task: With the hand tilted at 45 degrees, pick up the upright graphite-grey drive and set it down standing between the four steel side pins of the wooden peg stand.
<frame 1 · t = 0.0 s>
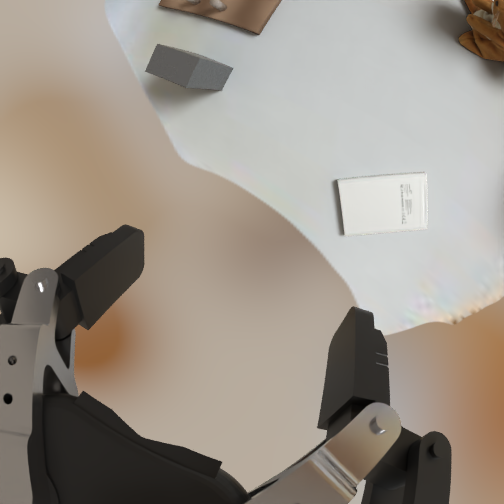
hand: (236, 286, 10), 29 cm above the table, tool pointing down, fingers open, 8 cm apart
grey drive: (209, 71, 32), on the table
stuffed squirrel: (492, 42, 17), on the table
external hard drive: (384, 201, 35), on the table
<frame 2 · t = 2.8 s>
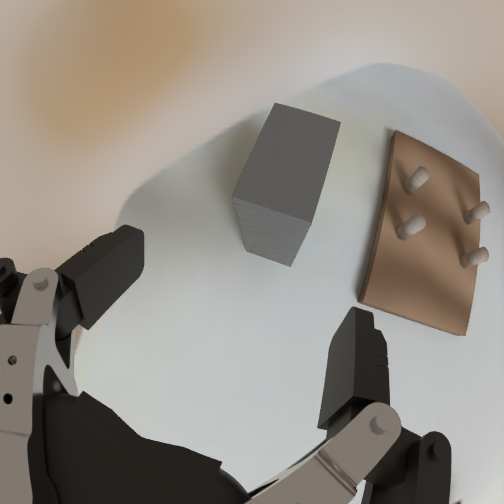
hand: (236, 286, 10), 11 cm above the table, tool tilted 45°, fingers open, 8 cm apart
grey drive: (281, 224, 22), on the table
wooden peg stand: (431, 229, 21), on the table
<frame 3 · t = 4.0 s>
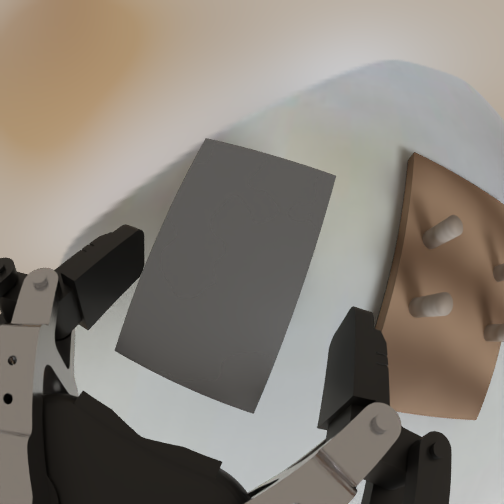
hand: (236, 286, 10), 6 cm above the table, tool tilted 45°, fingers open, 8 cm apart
grey drive: (249, 296, 16), on the table
wooden peg stand: (453, 291, 15), on the table
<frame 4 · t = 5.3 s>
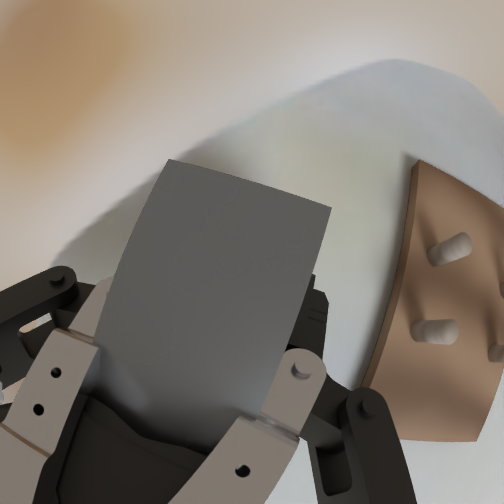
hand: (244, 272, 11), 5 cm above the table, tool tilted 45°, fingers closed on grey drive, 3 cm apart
grey drive: (238, 320, 15), on the table, touching gripper
wooden peg stand: (458, 310, 14), on the table
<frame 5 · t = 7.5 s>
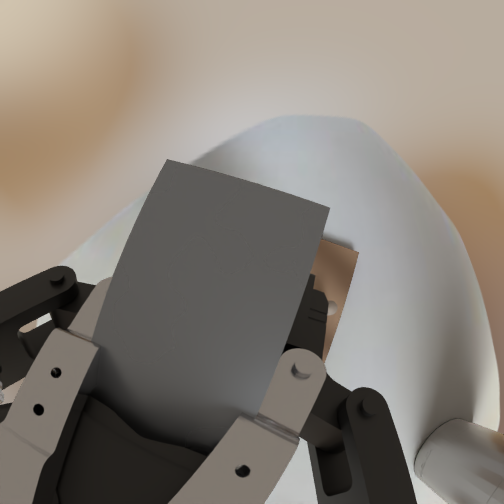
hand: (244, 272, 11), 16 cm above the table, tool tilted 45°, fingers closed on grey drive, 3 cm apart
grey drive: (237, 320, 15), point 11 cm above the table, touching gripper
wooden peg stand: (276, 319, 26), on the table
when the fingers open (7 cm above the table, at t = 9.7 s): grey drive stays where it is, resting on wooden peg stand.
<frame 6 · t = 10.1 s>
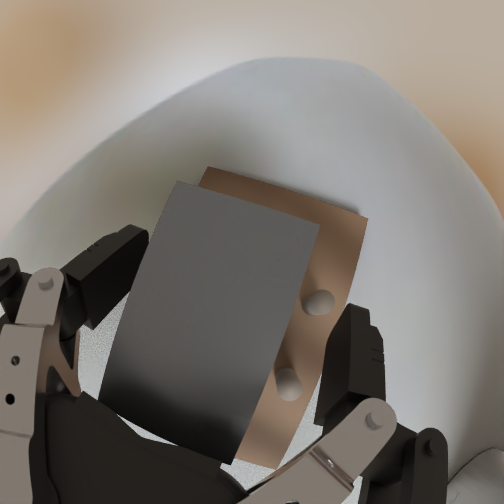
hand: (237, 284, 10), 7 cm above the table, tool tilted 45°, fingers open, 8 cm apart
grey drive: (239, 321, 15), point 1 cm above the table, touching wooden peg stand
wooden peg stand: (241, 320, 17), on the table
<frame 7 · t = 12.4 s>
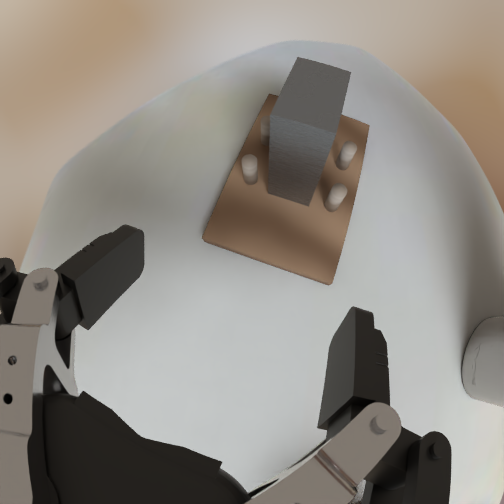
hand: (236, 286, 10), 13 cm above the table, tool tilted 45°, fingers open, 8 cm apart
grey drive: (298, 171, 24), point 1 cm above the table, touching wooden peg stand
wooden peg stand: (296, 177, 25), on the table
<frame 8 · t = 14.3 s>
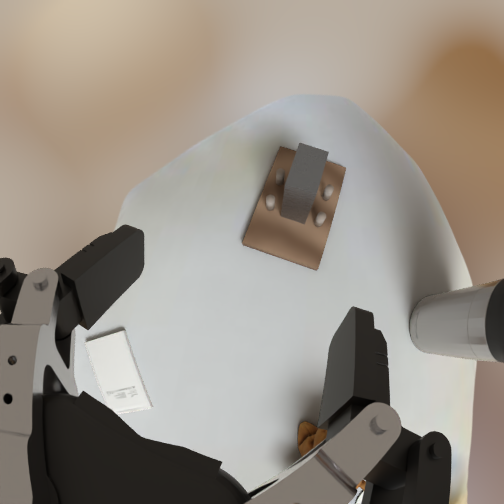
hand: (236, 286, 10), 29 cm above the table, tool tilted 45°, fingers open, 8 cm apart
grey drive: (298, 202, 40), point 1 cm above the table, touching wooden peg stand
stuffed squirrel: (324, 451, 32), on the table
external hard drive: (119, 373, 37), on the table
wooden peg stand: (297, 205, 41), on the table
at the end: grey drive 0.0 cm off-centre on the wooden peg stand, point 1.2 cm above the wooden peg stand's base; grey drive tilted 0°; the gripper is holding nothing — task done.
